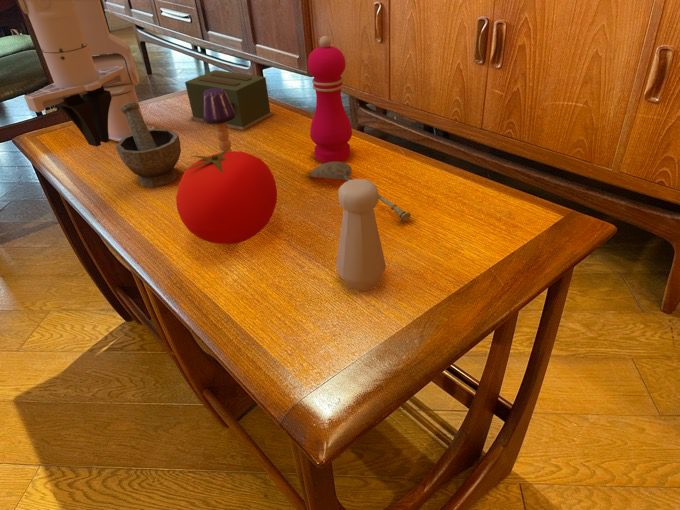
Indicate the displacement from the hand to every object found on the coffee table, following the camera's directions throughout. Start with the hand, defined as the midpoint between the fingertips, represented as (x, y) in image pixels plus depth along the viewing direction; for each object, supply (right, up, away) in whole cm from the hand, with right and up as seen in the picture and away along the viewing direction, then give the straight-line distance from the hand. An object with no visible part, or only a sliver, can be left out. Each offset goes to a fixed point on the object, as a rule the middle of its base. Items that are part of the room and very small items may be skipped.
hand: (99, 142), depth 75 cm
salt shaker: (+39, -20, -15) cm, 46 cm away
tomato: (+21, -14, -5) cm, 26 cm away
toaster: (+13, +13, +32) cm, 37 cm away
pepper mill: (+35, +1, +14) cm, 37 cm away
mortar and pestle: (+5, -4, +11) cm, 12 cm away
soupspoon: (+39, -8, +2) cm, 40 cm away
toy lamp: (+20, -8, +4) cm, 21 cm away
